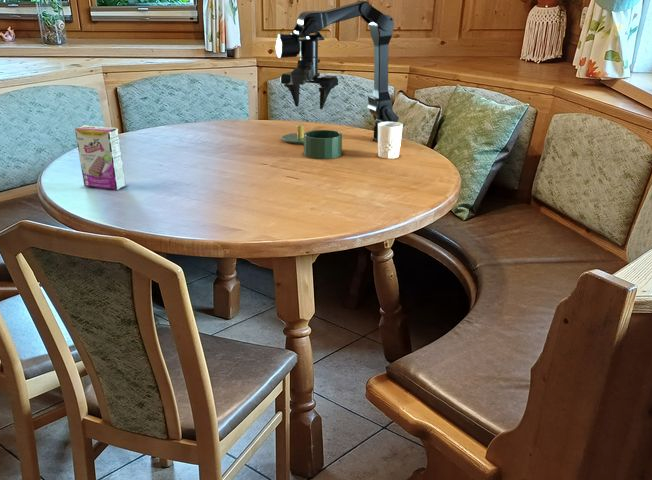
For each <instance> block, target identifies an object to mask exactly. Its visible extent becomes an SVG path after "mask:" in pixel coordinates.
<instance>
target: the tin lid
mask: <svg viewBox="0 0 652 480" xmlns="http://www.w3.org/2000/svg"><path fill="white" fill-rule="evenodd" d="M305 133H306V132H305V125H304V124H297V125H296V132H295V133H288V134H284V135H283V136H281V140H282V142H285V143H289V144H295V145H304V134H305Z"/></svg>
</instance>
